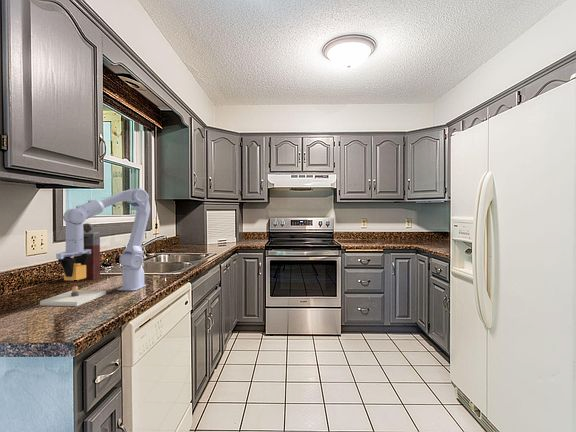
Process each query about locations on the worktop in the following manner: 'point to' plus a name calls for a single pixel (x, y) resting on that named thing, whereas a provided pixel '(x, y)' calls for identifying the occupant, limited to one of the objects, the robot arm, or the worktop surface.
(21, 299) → the worktop surface
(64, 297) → the plate
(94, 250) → the glass decanter
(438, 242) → the worktop surface
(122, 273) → the robot arm
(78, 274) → the orange cube with dome
